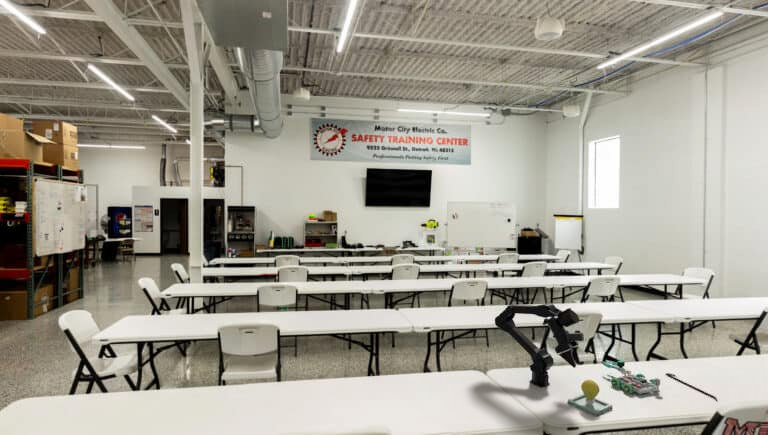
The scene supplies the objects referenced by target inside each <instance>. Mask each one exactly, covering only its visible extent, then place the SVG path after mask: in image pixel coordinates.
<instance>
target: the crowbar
mask: <svg viewBox="0 0 768 435" xmlns="http://www.w3.org/2000/svg"><path fill="white" fill-rule="evenodd" d="M666 375H667V376H666ZM672 375H673V376H672ZM665 376H666V377H668V376H669V378H670V377H671V378H670V379H672V378H673V380H674V379H675V380H674V381H676V380H677V382H678V383H680V384H682V385H685V386H687V387H689V388H691V389H693V390H695V391H697V392H699V393H701V394H704V395H706V396H707V395H708V396H707V397H709V396H710V398H712V399H713V400H715V401H718V398H717V397H716V396H714V395H713V394H710V393H708V392H706V391H704V390H702V389H700V388H698V387H696V386H693V385H691V384H689V383H687V382H685V381H683V380H680V379H679V378H676V377H677V375H675V374H673V373H669V372H666V373H665Z"/></svg>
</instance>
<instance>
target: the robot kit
mask: <svg viewBox="0 0 768 435" xmlns="http://www.w3.org/2000/svg"><path fill="white" fill-rule="evenodd" d="M625 363H626V362H625V361H624V360H622V359H619V360H617V361H616V362H615V361H613V360H607V363H606V362H605V361H602V365H603V366H605V367H606V368H608V369H615V370H617V371H618V372H619V373H621V374H622V376H619V377H613V378H611V379H610V384H611V385H612V387H613V388H616V389H617V388H618V389H619V388H622V389H623V392H625V394H628V395H631V394H633V393H637V394H639V395H641V394H645V393H650V392H655V391H659V388H660V386H661V379H660V378H657V377H655V378H651V379H647V378H646V376H645V375H644V374H643V373H638V374H636V375H635V373H634V374H632V370H629V369H626V368H625Z"/></svg>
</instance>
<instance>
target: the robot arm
mask: <svg viewBox="0 0 768 435" xmlns="http://www.w3.org/2000/svg"><path fill="white" fill-rule="evenodd" d="M516 314H519V315H520V314H521V315H522V314H523V315H535V316H537V317H540V318H544V319H543V322H542V325H543V326H546V325H547V326H548V327H549V330H550V332H551V333H552V338H553V339H555V341H556V343H557V346H555V348H554V351H555V353H556V355H558V356H560V358H562V359H563V360H565V362H567V363H568V364H569V365H570V366H571V367H572V368H573V369H575V368H576V367H577V365H581V360H580V357H579V352H578V349H579V347H580V346H579V342H584V341H585V338H584V337H585V335H584V332H581V330H579V329H578V330H575V331H574V332H569V330H566V328H568V327H571V326H573V325H575V324H578V323H579V322H580V318H579V315H578V313H576V312H575V311H574V310H572V308H571V307H569V308H566V309H565V310H563V311H562V310H561V309H559V308H558V307H556V306H555V304H554V303H551V302H548V303H543V304H537V305H528V304H526V305H525V304H523V305H522V304H509V305H507V306H506V308H505V309H504V310H503V311H502V312H501V313H499V315H497V316H495V318H494V324H495V326H496V327H497V328H498V329H500V330H501V331H503V332H505V333H508V334H509V335H510V337H512V338H513V340H514V341H515V342H517V344H518V345H519V346H521V347H522V349H523V350H525V352H526V353H527V354H528V355H529V356H530V358H531V361H532V364H531V365H529V369H530V372H531V380H529V383H530V384H533V385H535V386H538V387H540V388H543V387H547V386H550V382H549V377H550V376H549V372H548V371H549V370H550V369H551V368H552V367H553V366H554V365H555V364H554V363H555V362H554V357H552V354H551V353H549V352H548V351H547V349H546V348H542V349H540V348H538V347H537V346H536V345H535V344H534V343H533V342H532V341H531V340H530V339H529V338H528V337H527V336H526V335H525V334H524V333H523V332H522V331H521V330H520V329H519V328H518V326H516V323H515V321H514V318H515V316H516Z"/></svg>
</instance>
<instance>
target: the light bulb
mask: <svg viewBox="0 0 768 435" xmlns="http://www.w3.org/2000/svg"><path fill="white" fill-rule="evenodd" d="M580 387H581V391H582V394H583V393H584V395H585V396H586V398H585V401H586V404H587V405H589V406H593V403H594V400H593V399H594V398H596V397H597V396H598V395H599V393H600V387H599V385H598V383H597V382H596V381H594V380H592V379H586V380H583V381H582V383H581V386H580Z"/></svg>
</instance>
